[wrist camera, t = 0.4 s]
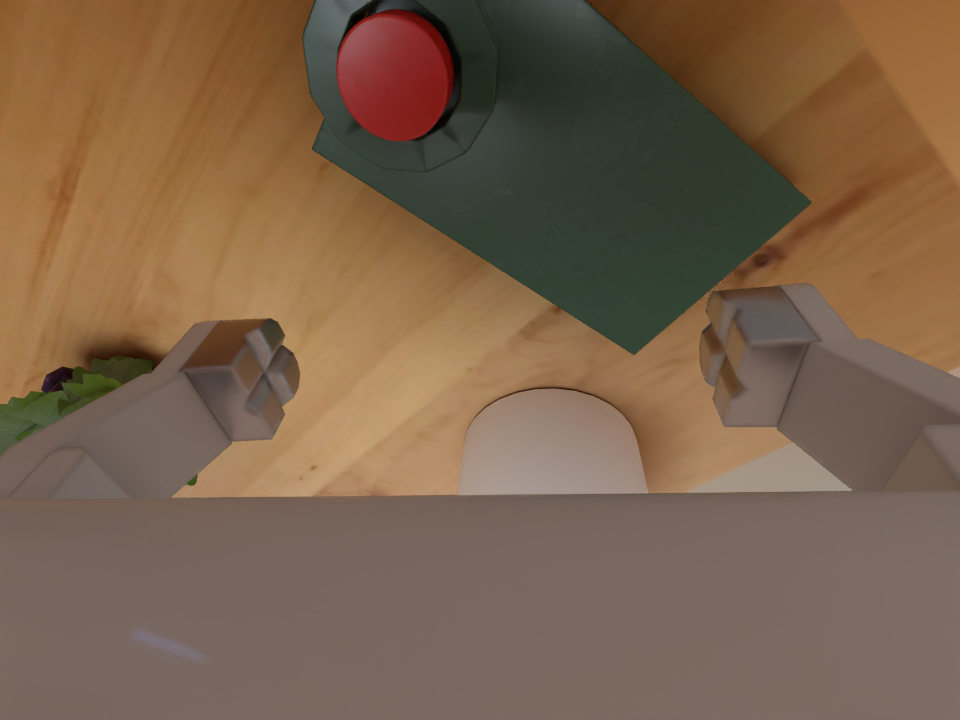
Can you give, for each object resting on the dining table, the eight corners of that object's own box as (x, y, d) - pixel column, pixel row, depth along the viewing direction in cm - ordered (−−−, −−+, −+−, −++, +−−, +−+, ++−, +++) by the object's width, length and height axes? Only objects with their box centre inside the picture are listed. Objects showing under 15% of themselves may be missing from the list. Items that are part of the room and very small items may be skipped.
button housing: (301, 117, 22) (263, 144, 19) (408, -159, 16) (378, -184, 13) (628, 330, 27) (639, 378, 24) (791, 183, 22) (833, 221, 19)
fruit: (93, 378, 38) (113, 287, 28) (208, 463, 41) (266, 409, 30) (-52, 487, 31) (-99, 421, 21) (98, 580, 34) (123, 563, 24)
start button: (334, 87, 18) (318, 99, 16) (378, -19, 16) (364, -16, 14) (422, 148, 19) (414, 163, 17) (474, 56, 17) (469, 65, 15)
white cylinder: (431, 447, 35) (394, 624, 26) (550, 356, 29) (558, 544, 20) (547, 517, 39) (552, 691, 30) (672, 451, 33) (726, 642, 24)
